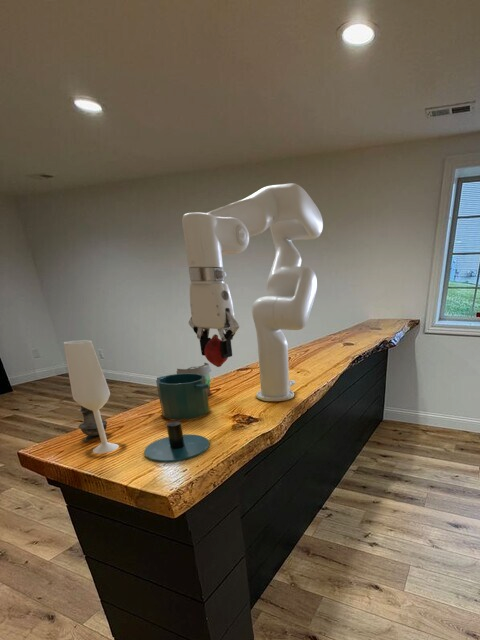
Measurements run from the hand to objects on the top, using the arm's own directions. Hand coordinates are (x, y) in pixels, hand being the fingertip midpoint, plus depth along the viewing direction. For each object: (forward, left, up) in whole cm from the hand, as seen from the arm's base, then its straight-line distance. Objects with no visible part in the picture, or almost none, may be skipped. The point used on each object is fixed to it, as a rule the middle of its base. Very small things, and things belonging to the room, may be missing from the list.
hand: (217, 355), depth 87 cm
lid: (+18, +3, -18) cm, 25 cm away
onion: (0, 0, -3) cm, 3 cm away
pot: (0, -15, -19) cm, 24 cm away
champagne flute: (+26, -11, -19) cm, 34 cm away
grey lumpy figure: (+23, -20, -19) cm, 36 cm away
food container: (-15, -25, -19) cm, 35 cm away
